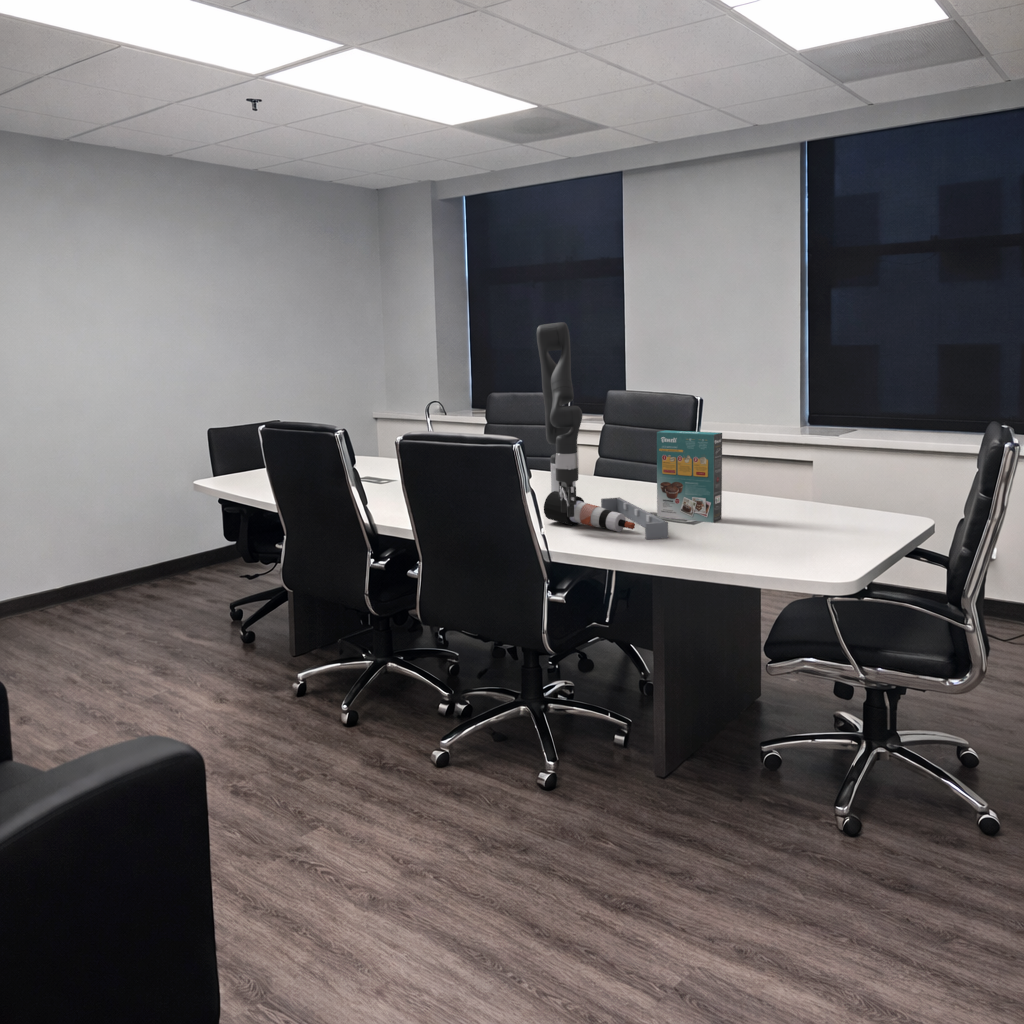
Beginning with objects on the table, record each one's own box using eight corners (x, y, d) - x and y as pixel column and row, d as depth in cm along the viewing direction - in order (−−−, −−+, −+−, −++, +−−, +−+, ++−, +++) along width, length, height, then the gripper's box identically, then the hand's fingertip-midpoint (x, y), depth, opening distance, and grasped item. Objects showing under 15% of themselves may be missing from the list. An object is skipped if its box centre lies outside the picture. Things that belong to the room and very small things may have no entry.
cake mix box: (721, 519, 317) (722, 432, 312) (713, 522, 313) (713, 434, 307) (665, 513, 331) (665, 430, 326) (657, 516, 327) (656, 432, 321)
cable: (627, 547, 300) (621, 523, 294) (547, 525, 322) (540, 502, 316) (644, 529, 305) (638, 504, 300) (565, 508, 327) (558, 485, 322)
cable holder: (601, 512, 338) (601, 498, 337) (619, 510, 340) (619, 497, 339) (646, 539, 291) (646, 523, 290) (667, 537, 292) (667, 522, 291)
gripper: (550, 464, 311) (551, 511, 314) (561, 469, 297) (561, 519, 300) (572, 463, 312) (573, 510, 315) (583, 468, 299) (584, 517, 301)
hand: (567, 514), depth 308 cm, fingers open, 8 cm apart
